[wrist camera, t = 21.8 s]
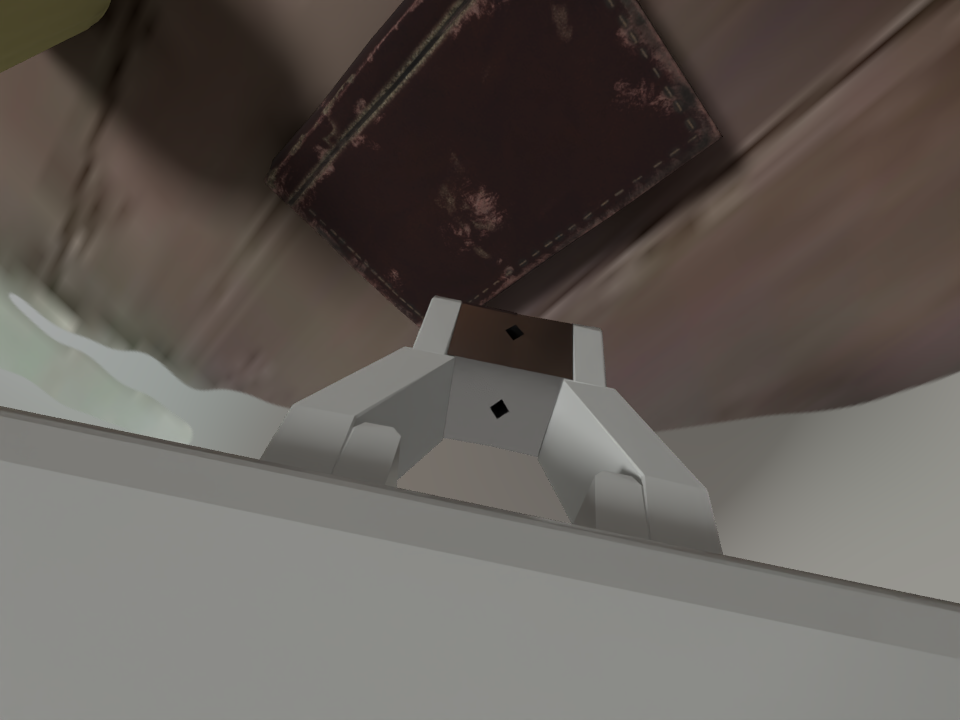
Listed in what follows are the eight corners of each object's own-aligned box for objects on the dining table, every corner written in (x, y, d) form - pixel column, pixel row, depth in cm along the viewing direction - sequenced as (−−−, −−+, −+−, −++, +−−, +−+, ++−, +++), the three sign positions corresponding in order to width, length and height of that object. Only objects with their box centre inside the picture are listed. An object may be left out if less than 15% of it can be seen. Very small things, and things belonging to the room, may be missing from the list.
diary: (284, 154, 41) (253, 177, 37) (537, -154, 29) (530, -169, 25) (451, 317, 48) (440, 350, 44) (714, 125, 36) (730, 148, 32)
